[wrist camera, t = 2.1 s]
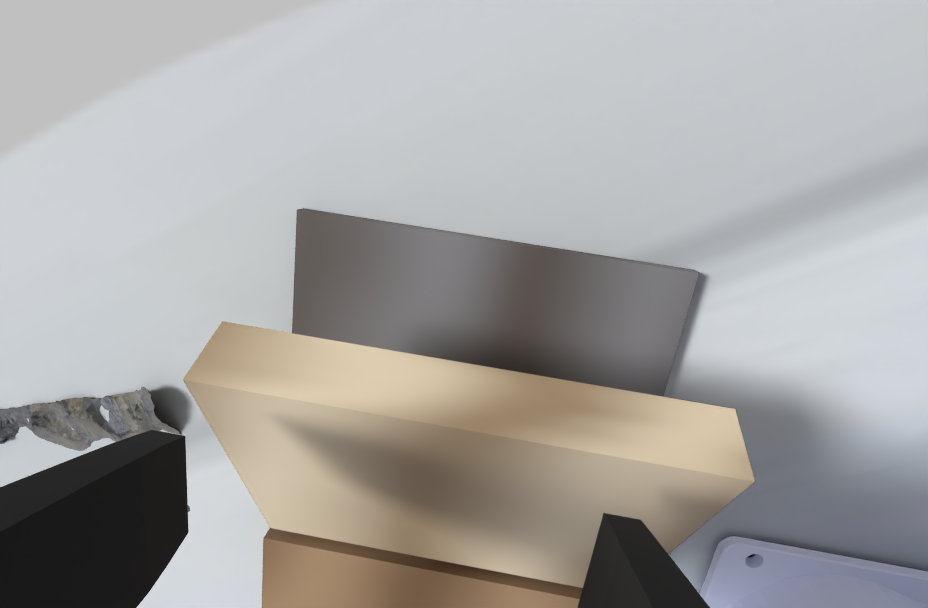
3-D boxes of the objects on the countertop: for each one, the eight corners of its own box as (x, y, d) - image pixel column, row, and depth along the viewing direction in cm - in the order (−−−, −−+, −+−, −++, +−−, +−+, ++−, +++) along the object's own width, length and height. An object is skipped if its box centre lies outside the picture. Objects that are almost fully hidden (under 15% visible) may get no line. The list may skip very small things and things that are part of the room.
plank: (734, 409, 10) (754, 481, 9) (616, 541, 15) (619, 595, 14) (222, 321, 10) (182, 380, 9) (289, 480, 16) (270, 527, 15)
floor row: (693, 269, 13) (722, 287, 11) (575, 678, 18) (582, 737, 16) (302, 208, 14) (271, 215, 12) (285, 619, 18) (260, 670, 17)
